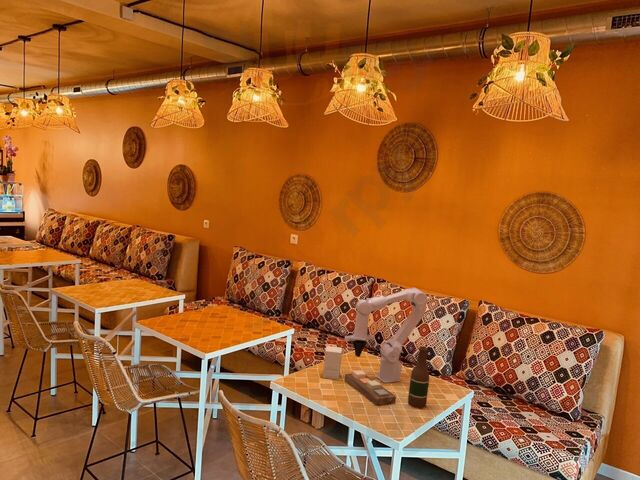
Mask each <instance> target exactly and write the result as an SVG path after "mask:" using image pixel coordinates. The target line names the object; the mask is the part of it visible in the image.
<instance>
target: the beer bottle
mask: <svg viewBox="0 0 640 480" xmlns="http://www.w3.org/2000/svg"><path fill="white" fill-rule="evenodd" d="M428 351H429V349H428V347H426V346H423V345H422V346H419V347H418V356H417V362H416V365H415V366H414V367H413V368H412V370H411V373H410V380H409V387H408V389H409V390H408V395H407V396H408V397H407V404H408V406H411V407H412V408H413V409H415V408H416V409H423V408H426V406H427V400H428V392H429V386H430V385H429V384H430V374H429V369H428V368H427V355H428Z"/></svg>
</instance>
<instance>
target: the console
mask: <svg viewBox="0 0 640 480" xmlns="http://www.w3.org/2000/svg"><path fill="white" fill-rule="evenodd" d="M365 378H368V379H370V380H371V381H375V380H374V379H372V378H371V377H369V376H368V375H367V374H366V377H365ZM344 382H346V383H347V384H348V385H349V386H351V387H352V388H353V389H355V391H357V392H358V393H359V394H360V395H362V396H363V397H365V398H366V399H367V400H368V401H370V402H371V403H372V404H373V405H374V406H376V407H379V406H386V405H394V404H396V401H397V396H396V395H395V394H393V393H392V392H390V391H389V390H388V389H387V388H385V387H383V386H382V385H381V389H383V390H385V391H386V392H388V393H389V396H384V397H379V396H378V395H377V394H375V393H374V390H372V391H371V390H370V389H369V388H367V387H366V385H363V384H362V383H361V382H359V379H356V378H354V377H353V376H352V372H351V373H345V374H344Z"/></svg>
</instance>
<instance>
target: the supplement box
mask: <svg viewBox="0 0 640 480" xmlns="http://www.w3.org/2000/svg"><path fill="white" fill-rule="evenodd" d="M342 353H343V347H338V346H329V345H326V348H325V353H324V362H323V364H324V365H323V373H322V374H323V376H322V378H323V379H329V380H340V375H341V366H342V365H341V364H342V357H343V356H342V355H343V354H342Z"/></svg>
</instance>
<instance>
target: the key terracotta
mask: <svg viewBox="0 0 640 480" xmlns="http://www.w3.org/2000/svg"><path fill="white" fill-rule="evenodd" d="M367 381H371V380H370V379H368V378H363V379H359V382H361V383H362V384H363V385H366V383H367Z"/></svg>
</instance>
